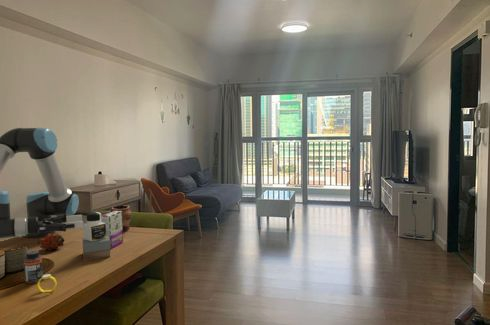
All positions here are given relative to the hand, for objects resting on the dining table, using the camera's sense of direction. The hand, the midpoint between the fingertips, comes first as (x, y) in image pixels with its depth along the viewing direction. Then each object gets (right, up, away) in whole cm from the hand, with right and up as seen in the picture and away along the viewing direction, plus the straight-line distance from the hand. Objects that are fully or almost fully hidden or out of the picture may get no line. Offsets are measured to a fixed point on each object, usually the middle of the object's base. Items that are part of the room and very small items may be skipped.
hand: (82, 220), depth 163 cm
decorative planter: (+2, -13, +45) cm, 47 cm away
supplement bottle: (-7, -19, -26) cm, 32 cm away
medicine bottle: (+4, -9, +3) cm, 10 cm away
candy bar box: (+7, -15, +18) cm, 25 cm away
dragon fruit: (-20, -16, +12) cm, 29 cm away
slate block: (+5, -13, +3) cm, 14 cm away
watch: (+3, -20, -35) cm, 40 cm away
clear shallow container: (+5, -17, +4) cm, 18 cm away
